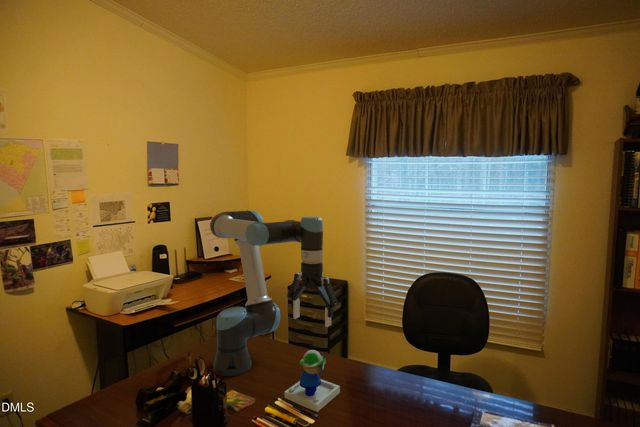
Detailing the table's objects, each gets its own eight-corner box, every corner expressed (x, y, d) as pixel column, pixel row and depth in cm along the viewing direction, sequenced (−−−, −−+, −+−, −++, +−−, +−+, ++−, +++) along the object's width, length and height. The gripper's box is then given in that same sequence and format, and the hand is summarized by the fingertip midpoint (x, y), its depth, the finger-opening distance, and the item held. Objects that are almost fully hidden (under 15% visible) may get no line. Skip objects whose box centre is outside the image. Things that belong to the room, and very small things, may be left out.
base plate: (284, 398, 127) (284, 390, 126) (308, 380, 138) (308, 373, 138) (317, 412, 119) (317, 403, 118) (339, 392, 130) (339, 384, 130)
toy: (322, 400, 123) (322, 357, 122) (296, 397, 125) (296, 355, 124) (327, 386, 132) (327, 346, 131) (303, 384, 134) (302, 344, 133)
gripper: (277, 259, 129) (277, 317, 131) (336, 268, 115) (336, 333, 117) (290, 256, 135) (291, 311, 137) (348, 264, 121) (348, 326, 123)
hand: (311, 321), depth 127 cm, fingers open, 13 cm apart
